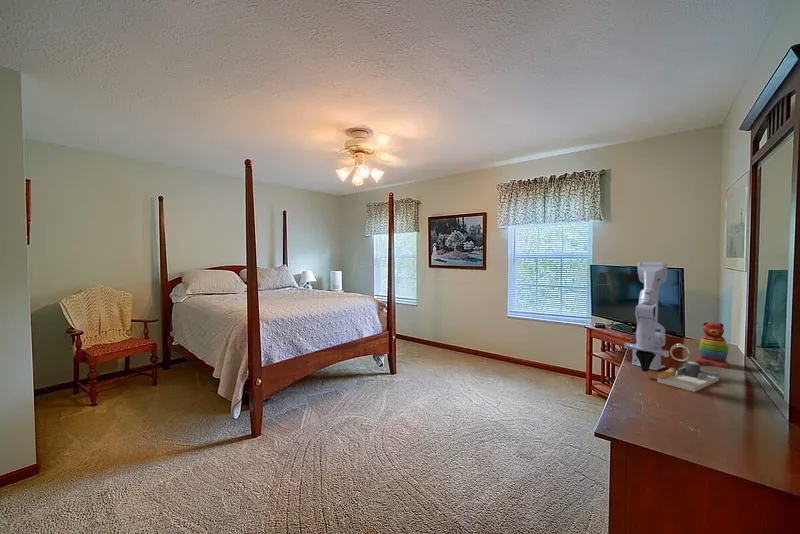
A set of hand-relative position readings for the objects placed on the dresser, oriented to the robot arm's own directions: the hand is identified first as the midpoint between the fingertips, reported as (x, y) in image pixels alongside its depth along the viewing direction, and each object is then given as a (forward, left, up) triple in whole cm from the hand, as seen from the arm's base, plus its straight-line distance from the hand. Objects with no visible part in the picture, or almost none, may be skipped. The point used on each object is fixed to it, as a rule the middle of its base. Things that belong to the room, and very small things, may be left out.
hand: (645, 370), depth 134 cm
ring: (-3, +37, -3) cm, 37 cm away
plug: (+11, +12, -1) cm, 16 cm away
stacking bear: (+6, +45, -3) cm, 45 cm away
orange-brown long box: (+6, +3, 0) cm, 7 cm away
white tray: (+10, +9, -2) cm, 14 cm away
